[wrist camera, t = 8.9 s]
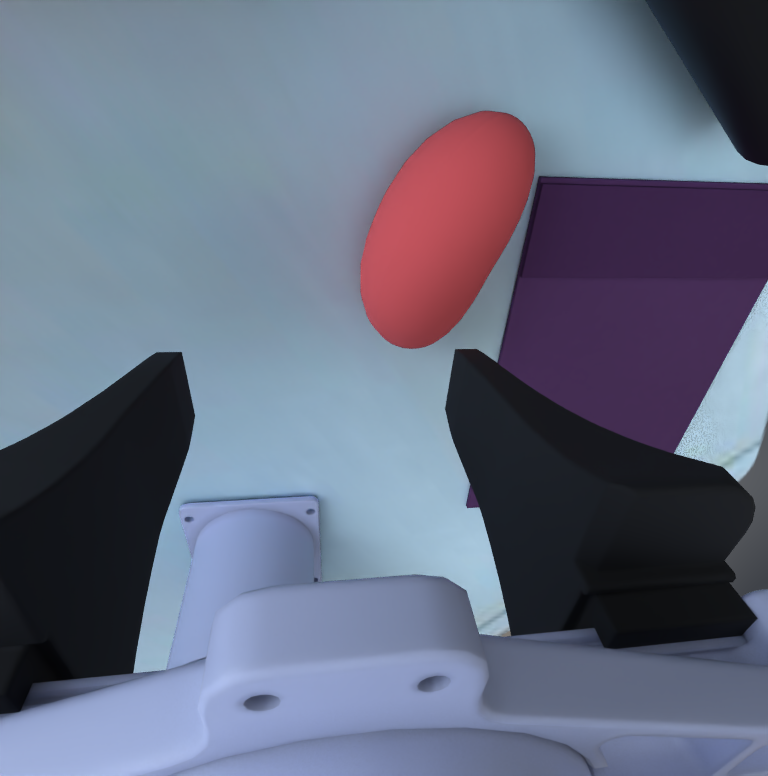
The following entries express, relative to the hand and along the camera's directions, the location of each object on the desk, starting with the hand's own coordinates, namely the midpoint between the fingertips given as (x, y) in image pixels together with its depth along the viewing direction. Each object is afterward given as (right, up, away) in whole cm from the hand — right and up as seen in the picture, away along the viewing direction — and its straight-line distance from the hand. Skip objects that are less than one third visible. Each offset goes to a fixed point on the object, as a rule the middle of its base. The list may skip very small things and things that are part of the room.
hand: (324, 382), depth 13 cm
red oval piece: (+4, +7, +7) cm, 11 cm away
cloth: (+14, +1, +13) cm, 19 cm away
